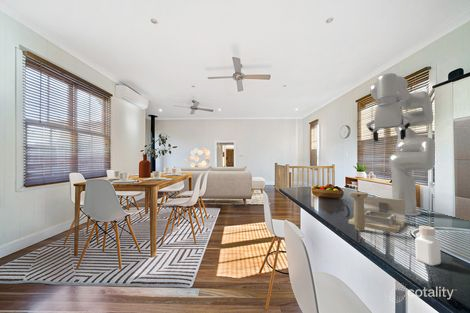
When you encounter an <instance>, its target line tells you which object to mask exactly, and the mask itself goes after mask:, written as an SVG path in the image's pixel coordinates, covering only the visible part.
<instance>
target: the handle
mask: <svg viewBox="0 0 470 313" xmlns="http://www.w3.org/2000/svg"><path fill="white" fill-rule="evenodd" d="M348 194H349V196H350V197H351V198H353V218H354V224H355V225H354V229H355V231H358V232H364V231H365V227H364V226H365V211H364V198H366V197H368V196H369V193H368V192H364V191H349V193H348Z"/></svg>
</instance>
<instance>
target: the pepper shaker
mask: <svg viewBox="0 0 470 313" xmlns="http://www.w3.org/2000/svg"><path fill="white" fill-rule="evenodd" d="M418 230H419V231H418V232H419V233H418V234H419V236H417V237H416V238H415V239H414V244H415V248H414V249H415V259H416V260H417V261H419V262H421V263H423V264H426V265H428V266H431V267H432V266H437V265H440V264H441V262H442V261H441V258H442V256H441V242H440V241H439V240H437V239H436V228H435V227H432V226H429V225H419V226H418Z"/></svg>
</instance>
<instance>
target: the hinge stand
mask: <svg viewBox="0 0 470 313" xmlns="http://www.w3.org/2000/svg"><path fill="white" fill-rule="evenodd" d="M364 211H365V226H364V228H368V229H374V230H379V231H383V232H387V233H393V234H397V233H398V232H399V231H400V230H401V229H402V228H403V227H404V226H405V225H406V215H405V202H404V200H400V199H393V198H388V197H387V198H386V197H380V196H379V197H377V196H371V195H370V196H369V195H368V197H366V198H364ZM347 223H348V224H349V225H353V226H355V224H354V217H352V218H350V219H348V222H347Z"/></svg>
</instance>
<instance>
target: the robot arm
mask: <svg viewBox="0 0 470 313" xmlns="http://www.w3.org/2000/svg"><path fill="white" fill-rule="evenodd" d="M408 83H409V82H408V80H407V79H406V78H405V77H403V76H400V75H397V73H393V72H391V73H389V72H388V73H385V74H382V75H380V76H378V78H377V79H376V82H374V83H373V84H372V85H371V86H370V88H369V89H370V90H369V92H370V95H371V98H373V100H375V101H376V102H377V106H376V107H375V110H374V111H375V112H374V119H373V120H371V121H369V122H368V123H367V124H365V126H366V127H367V129H368V130H369V131H370V132H371V133H372V138H373V140H374V142H379V132H378V131H379V130H380V129H381V130H382V129H391V128H394V130H395V132H396V136H397V140H396V144H395V152H394V153H392V154H390V156H389V157H388V164H389V167H390V171H391V173H390V174H391V190H392V191H391V193H392V199H400V200H404V202H405V216H411V217H413V216H414V217H417V216H420V215H421V214H422V213H421V212H420V211H419V210H417V195H416V194H417V192H416V190H417V188H416V179H415V177H414V176H413V175H412V173H410V171H412V172H413V171H415V172H416V171H418V172H421V171H423V172H425V171H431V170H432V169H433V168H434V166H435V164H434V163H435V154H436V144H435V143H436V142H435V140H434V139H433V138H431V137H428V136H422V137H418V134H417V132H416V131H414V130H413V129H412V127H421V126H423V127H424V126H428V125H430V124H433V122H434V112H433V105H432V101H431V100H432V99H431V96H430V94H429V92H427V91H424V90H423V91H418V92H412V93H411V92H410V91H409V89H407V88H408V85H409V84H408ZM420 108H421V109H422V110H416V109H420ZM410 110H414V111H410ZM403 111H407V112H404V113H403ZM408 111H409V112H408ZM372 125H374V128H373V127H372Z"/></svg>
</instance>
